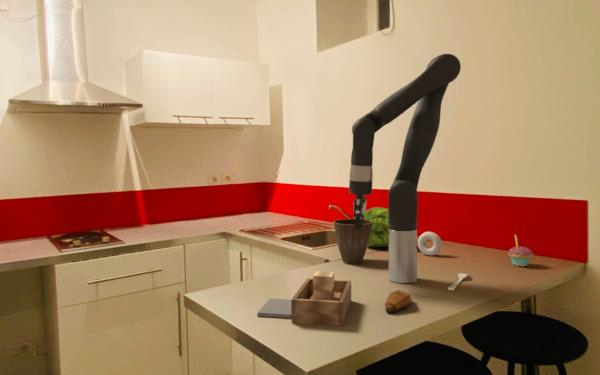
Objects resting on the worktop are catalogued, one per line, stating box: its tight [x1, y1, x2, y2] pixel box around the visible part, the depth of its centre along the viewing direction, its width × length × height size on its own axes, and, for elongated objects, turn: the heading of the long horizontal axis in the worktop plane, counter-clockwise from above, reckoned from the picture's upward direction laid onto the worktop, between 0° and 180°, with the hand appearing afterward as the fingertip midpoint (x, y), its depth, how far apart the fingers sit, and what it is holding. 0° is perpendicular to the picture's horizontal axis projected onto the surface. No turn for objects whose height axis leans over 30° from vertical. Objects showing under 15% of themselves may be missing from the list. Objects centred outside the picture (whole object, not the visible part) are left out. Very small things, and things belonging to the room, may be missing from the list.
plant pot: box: [333, 218, 372, 265], centre depth 180 cm, size 15×15×16 cm
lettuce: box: [364, 206, 389, 248], centre depth 206 cm, size 19×23×18 cm
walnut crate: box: [290, 278, 352, 327], centre depth 124 cm, size 13×20×6 cm, turn 168°
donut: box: [417, 231, 443, 257], centre depth 189 cm, size 10×4×10 cm, turn 55°
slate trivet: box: [256, 298, 292, 319], centre depth 126 cm, size 9×12×1 cm
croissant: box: [384, 289, 413, 313], centre depth 127 cm, size 14×7×5 cm, turn 144°
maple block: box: [312, 270, 335, 301], centre depth 125 cm, size 5×5×7 cm
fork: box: [447, 272, 470, 288], centre depth 150 cm, size 3×21×3 cm, turn 146°
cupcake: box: [507, 233, 535, 265], centre depth 170 cm, size 9×8×12 cm
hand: (358, 228), depth 152 cm, fingers open, 8 cm apart
